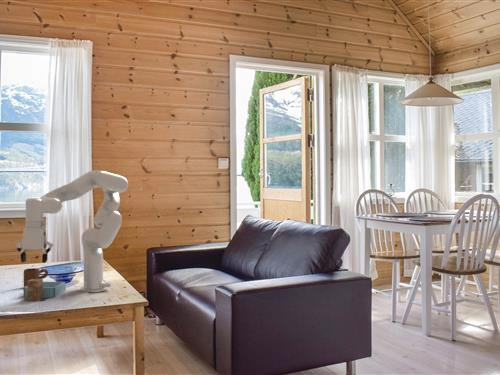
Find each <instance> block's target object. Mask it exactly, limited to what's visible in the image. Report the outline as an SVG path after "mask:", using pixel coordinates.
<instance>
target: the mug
mask: <svg viewBox="0 0 500 375" xmlns="http://www.w3.org/2000/svg"><path fill="white" fill-rule="evenodd" d="M42 273H44V274H42ZM40 274H42V275H40ZM48 275H49V270H48V269H46V268H41V269H40V268H34V267H33V268H26V269H23V287H25V286H27V281H29V280H31V279H46V278H47V277H48Z"/></svg>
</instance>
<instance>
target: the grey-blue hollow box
mask: <svg viewBox="0 0 500 375" xmlns="http://www.w3.org/2000/svg"><path fill="white" fill-rule="evenodd" d="M49 299H50V297H43V298H42V299H40V300H39V301H38V302H45V301H47V300H49ZM20 302H28V301H27V297H24V298H23V299H21V300H20Z"/></svg>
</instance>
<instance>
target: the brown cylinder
mask: <svg viewBox="0 0 500 375" xmlns="http://www.w3.org/2000/svg"><path fill="white" fill-rule="evenodd" d="M43 279H44V278H43ZM43 279H31V280H29V281H27V297H26V298H27V301H26V302H40V301H39V300H40V299H42V298H44V297H43V282H44V280H43Z"/></svg>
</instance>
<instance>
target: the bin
mask: <svg viewBox="0 0 500 375" xmlns="http://www.w3.org/2000/svg"><path fill="white" fill-rule="evenodd" d="M66 285H67V284H66V281H43V298H57V297H58V296H60V295H61V294H63V293H64V292H66ZM23 298H27V286H25V287H24V286H23Z"/></svg>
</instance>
